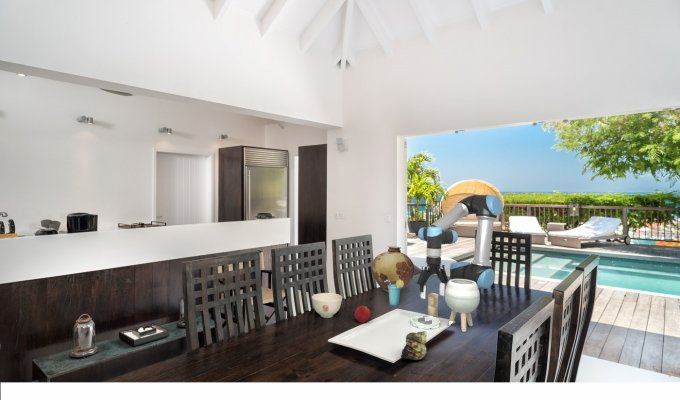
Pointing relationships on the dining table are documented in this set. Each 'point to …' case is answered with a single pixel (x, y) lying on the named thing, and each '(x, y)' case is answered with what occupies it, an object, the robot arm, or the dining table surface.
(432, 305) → the tan wooden block
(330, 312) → the bowl
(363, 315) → the apple
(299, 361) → the dining table surface
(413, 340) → the seashell
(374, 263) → the vase
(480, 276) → the robot arm
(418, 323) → the dish
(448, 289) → the planter
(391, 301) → the cup
